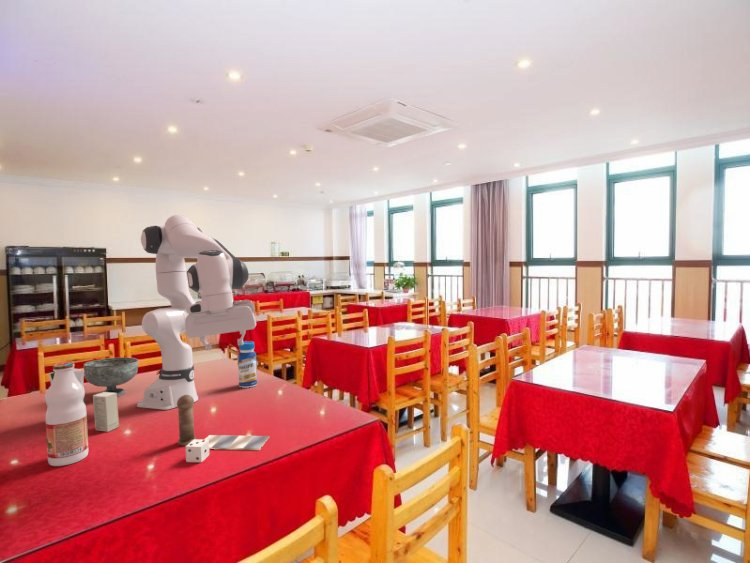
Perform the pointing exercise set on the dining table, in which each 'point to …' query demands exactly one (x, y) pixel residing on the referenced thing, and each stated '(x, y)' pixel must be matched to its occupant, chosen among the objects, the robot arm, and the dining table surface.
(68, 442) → the fruit juice
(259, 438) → the board
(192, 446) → the die
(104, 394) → the skincare box
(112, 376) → the bowl
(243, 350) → the beverage bottle
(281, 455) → the dining table surface
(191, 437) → the pawn
